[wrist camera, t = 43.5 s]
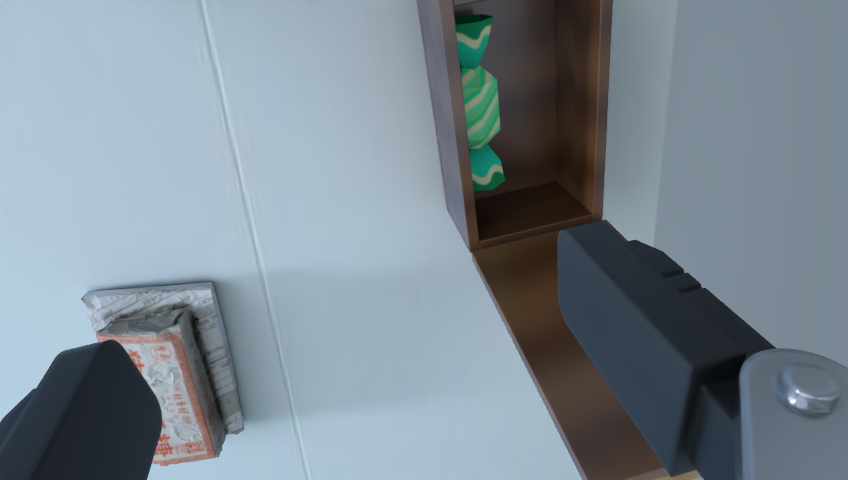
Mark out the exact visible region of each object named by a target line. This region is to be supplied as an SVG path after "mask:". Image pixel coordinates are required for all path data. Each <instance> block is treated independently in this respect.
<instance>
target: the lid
mask: <svg viewBox="0 0 848 480" xmlns="http://www.w3.org/2000/svg"><path fill="white" fill-rule="evenodd" d="M602 221H603V222H605V223H606V224H607V225H608V226H609V227H610V228H611V229H613V230H614V231H615V232H616V233H617V234H618V235H619V236H620V237H621V238H622V239H623V240H624V241H626V242H628V241H627V240H626V239H625V238H624V237H623V236H622V235H621V234H620V233H619V232H618V231H617V230H616V229H615V228H614V227H613V226H612V225H611V224H610V223H609V222H608V221H607V220H602ZM559 232H560V231H557V232H553V233H548V234H544V235H540V236H536V237H532V238H528V239H524V240H520V241H515V242H511V243H507V244H503V245H499V246H495V247H491V248H487V249H482V250H478V251H474V252H472V260H473V262H474V264H475V266H476V268H477V270H478V272H479V274H480V276H481V278H482V280H483V282H484V284H485V286H486V288H487V290H488V292H489V294H490V296H491V298H492V300H493V302H494V304H495V306H496V308H497V310H498V312H499V314H500V316H501V318H502V320H503V322H504V324H505V326H506V328H507V330H508V332H509V334H510V336H511V338H512V340H513V342H514V344H515V346H516V348H517V350H518V352H519V354H520V356H521V358H522V360H523V362H524V364H525V366H526V368H527V370H528V372H529V374H530V376H531V378H532V380H533V382H534V384H535V386H536V388H537V390H538V392H539V394H540V396H541V398H542V400H543V402H544V404H545V406H546V408H547V410H548V412H549V414H550V416H551V418H552V420H553V422H554V424H555V426H556V428H557V430H558V432H559V434H560V436H561V438H562V440H563V442H564V444H565V446H566V448H567V450H568V452H569V454H570V456H571V458H572V460H573V462H574V464H575V466H576V468H577V470H578V472H579V474H580V476H581V478H582V480H693V479H696V478H699V477H702V476H701V475H700V474H699V472H698V471H697V470H694V471H691V472H688V473H684V474H681V475H678V476H674V477H671V476H670V475H669V473H668V472H667V470H666V469H665V467H664V466H663V465H662V463H661V462H660V460H659V459H658V457H657V456H656V454H655V453H654V451H653V450H652V449H651V447H650V446H649V444H648V443H647V441H646V440H645V438H644V437H643V435H642V434H641V432H640V431H639V430H638V428H637V427H636V425H635V424H634V422H633V421H632V419H631V418H630V416H629V415H628V414H627V412H626V411H625V409H624V408H623V406H622V405H621V403H620V402H619V400H618V399H617V397H616V396H615V395H614V393H613V392H612V390H611V389H610V387H609V386H608V384H607V383H606V381H605V380H604V379H603V377H602V376H601V374H600V373H599V371H598V370H597V368H596V367H595V365H594V364H593V362H592V361H591V360H590V358H589V357H588V355H587V354H586V352H585V351H584V349H583V348H582V346H581V345H580V344H579V342H578V341H577V339H576V338H575V336H574V335H573V333H572V332H571V330H570V329H569V327H568V326H567V324H566V322H565V320H564V318H563V315H562V312H561V309H560V305H559V300H558V257H557V239H558V234H559Z"/></svg>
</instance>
